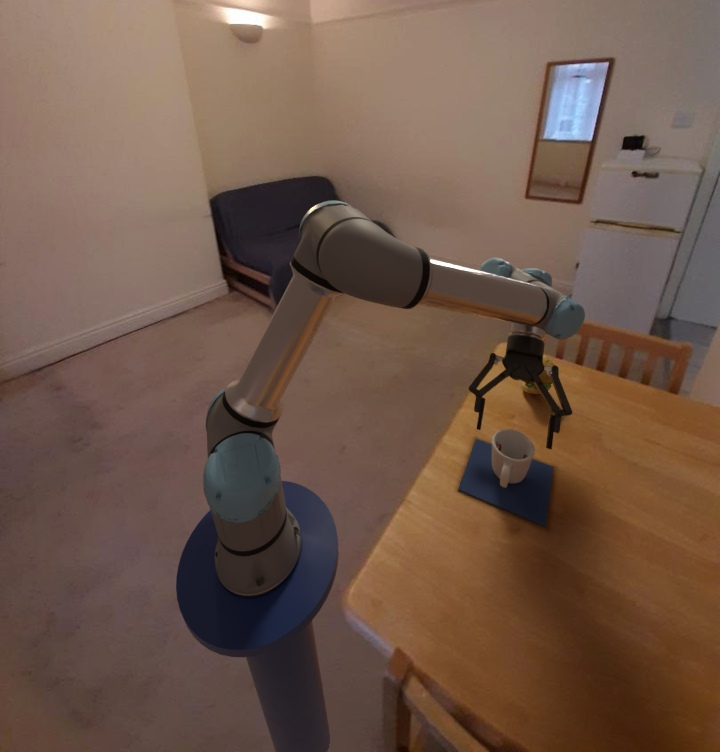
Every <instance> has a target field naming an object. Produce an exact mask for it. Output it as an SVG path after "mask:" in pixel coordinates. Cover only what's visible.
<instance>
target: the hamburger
mask: <svg viewBox="0 0 720 752" xmlns="http://www.w3.org/2000/svg"><path fill="white" fill-rule="evenodd" d="M552 360H553V359H551V358H550V357H548V356H546V355H544V354H543V364H544V366H555V365H556V364H555V363H554V361H552ZM539 378H540V379H541V381H542V382H543V384H544V386H545V387H546V389H547V390H548V391H550V389H551V388H552V385H553V383H552V380H551V377H549V376H548V375H547V372H546V371H543V372H542V373H541V374H540V375H539ZM521 387H522V389H523V390H524V392H526V393H529V394H532V395H541V393H540V392H539V390H538V389H537V387H536V386H535V385H534V383H533V381H532V382H528V383H527V382H523V381H522V383H521Z"/></svg>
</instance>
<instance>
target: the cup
mask: <svg viewBox="0 0 720 752" xmlns="http://www.w3.org/2000/svg"><path fill="white" fill-rule="evenodd" d="M491 444H492V468H493V471H494V473H495V474H496V476H497V477H498V478H499V479H500V485H501V486H502V487H505V488H506V487H507V485H508V483H513V484H514V483H519V482H521V481H522V480H523V479H524V478H525V476H526V474H527V471H528V469H529V466H530V464H531V461H532V459H534V456H535V451H536V449H535V445H534V442H533V441H532V440H531V438H529V437H528V436H527V435H526V434H525V433H523V432H521V431H519V430H516V429H512V428H503V429H499V430H497V431H496V432H495V433H494V434H493V436H492V438H491Z"/></svg>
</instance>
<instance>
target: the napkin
mask: <svg viewBox="0 0 720 752" xmlns="http://www.w3.org/2000/svg"><path fill="white" fill-rule="evenodd" d="M553 473H554V466H553V465H550V464H548V463H545V462H542V461H539V460H537V459H534V458H533V459H532V461H531V464H530V466H529V469H528V471H527V474H526V476H525V478H524V479H523V480H522V481H521V482H519V483H514V484H513V483H508V485H507V487H506V488H505V487H502V486H501V485H500V479H499V478H498V477H497V476H496V474H495V473H494V471H493V468H492V443H490V442H486V441H484V440H481V439H478V438H475V440H474V443H473V446H472V449H471V452H470V455H469V457H468V461H467V463H466V466H465V469H464V472H463V475H462V478H461V480H460V482H459V483H460V484H459V486H458V490H457V491H459V492H461V493H464V494H466V495H469V496H471V497H473V498H476V499H478V500H479V501H483V502H485V503H487V504H490V505H491V506H495V507H497V508H499V509H501V510H504V511H506V512H508V513H511V514H513V515H514V516H519V517H520V518H522V519H524V520H527V521H530V522H532V523H534V524H537V525H538V526H541V527H544V528H547V527H546V526H547V521H548V520H547V519H548V511H549V503H550V497H551V496H550V495H551V488H552V480H553Z"/></svg>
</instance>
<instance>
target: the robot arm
mask: <svg viewBox="0 0 720 752" xmlns="http://www.w3.org/2000/svg"><path fill="white" fill-rule="evenodd" d="M298 231H299V232H298V237H299V243H298V246H297V248H296V249H295V251H294V253H293V256H292V257H291V259H290V262H289V266H290V268H291V271H292V277H291V278H290V280H289V282H288V284H287V287H286V288H285V290H284V293H283V295H282V297H281V298H280V300H279V302H278V305H277V306H276V308H275V310H274V312H273V314H272V316H271V318H270V319H269V322H268V324H267V325H266V328H265V330H264V331H263V333H262V335H261V337H260V339H259V341H258V343H257V345H256V347H255V349H254V351H253V353H252V354H251V357H250V359H249V361H248V362H247V365H246V366H245V369H244V371H243V373H242V375H241V377H240V378H239V379H235V380H233V381H231V382H230V383H229V384H228V385H227V386H226V388H225V389H221V390H220V391H219V392H218V393H217V394H216V395H215V396H214V397H213V399H212V400H211V401H210V403H209V405H208V409H207V411H206V412H207V413H206V417H205V430H206V447H207V451H206V453H207V459H206V462H205V464H204V467H203V476H202V478H203V479H202V484H203V485H202V486H203V488H202V489H203V494H204V497H205V499H206V503H207V505H208V506H209V511H210V510H211V513H212V517H213V520H214V523H215V527H216V530H217V533H218V542H217V545H216V550H215V568H216V572H217V575H218V578H219V581H220V583H221V584H222V586H223V587H224V588H225V589H226V590H227V591H228V592H229V593H230V594H232V595H234V596H236V597H239V598H244V599H253V598H259V597H262V596H265V595H268V594H270V593H272V592H273V591H275V590H276V589H278V588H279V587H280V586H281V585H283V584H284V583H285V582H286V581H287V580H288V578H289V577H290V576H291V574H292V573H293V571H294V570H295V568H296V566H297V564H298V561H299V558H300V555H301V549H302V539H301V532H300V528H299V525H298V523H297V521H296V519H295V517H294V516H293V514H292V513H291V512H290V511H289V510H288V509H287V507H286V504H285V498H284V493H283V487H282V481H283V480H282V476H281V474H282V468H281V463H280V458H279V455H277V452H276V449H275V448H276V447H275V443H274V439H273V432H274V429H275V427H276V426H277V424H278V422H279V420H280V418H281V416H282V414H283V412H284V404H283V401H282V398H283V396H284V394H285V393H286V391H287V388H288V387H289V385H290V383H291V382H292V380H293V378H294V376H295V374H296V372H297V370H298V368H299V367H300V365H301V363H302V361H303V359H304V358H305V356H306V354H307V352H308V350H309V348H310V347H311V345H312V343H313V341H314V339H315V337H316V335H317V334H318V332H319V330H320V328H321V327H322V324H323V323H324V322H325V319H326V318H327V316H328V313H329V312H330V311H331V308H332V306H333V304H334V302H335V301H336V299H337V298H338V297H342V296H344V295H345V296H346V295H347V296H350V297H352V298H356V299H359V300H363V301H366V302H370V303H374V304H379V305H382V306H387V307H392V308H398V309H402V310H403V309H404V310H413V309H415V308H417V307H418V306H425V307H428V308H435V309H440V310H444V311H451V312H456V313H459V314H460V313H461V314H465V315H471V316H475V317H476V316H477V317H482V318H487V319H493V320H498V321H502V322H508V323H509V329H508V334H509V335H508V337H507V341H506V348H505V354H504V356H501V355H498V354H496V353H494V352H491V353H490V354H489V358H488V361H487V363H486V364H485V366H484V367H483V368H482V369H481V370H480V372H479V373H478V375H476V376H475V378H474V379H473V381H472V382H471V383H470V385H469V386H468V391H469V392H470V393H471V394H473V395H475V401H474V405H473V411H474V413H478V417H477V422H476V423H477V424H476V430H478V431H481V429H482V425H483V424H482V423H483V419H484V418H483V417H484V410H485V405H486V398H485V397H484V396H485V395H487V393H489V392H490V391H491V390H492V389H494V388H495V387H496V386H498V385H499V384H501V383H502V382H503V381H504V380H506V379H507V378H509V377H510V379H512V380H514V381H521V382H522V383H523V382H527V383H528V382H532V381H533V383H534V385H535V386H536V387H537V389H538V390H539V392H540V393H541V394H540V395H541V396H542V398H543V399H544V401H545V403H546V404H547V406H548V407H549V409H550V410H551V412H552V413H553V414H549V418H548V428H547V436H546V443H545V444H546V445H545V448H546V449H548V450H553V441H554V433H555V434H559V433H560V431H561V424H562V418H563V417H565V416H571V415H572V414H573V410H572V407H571V405H570V402H569V400H568V397H567V394H566V392H565V390H564V387H563V384H562V382H561V379H560V375H559V373H560V372H559V370H560V369H559V367H558V365H556V364H555V366H544V364H543V355H544V353H545V346H546V345H545V342H544V341H545V340H546V337H547V335H549V336H551V337H552V338H553V339H556V340H560V341H562V340H567V339H570V338H572V337H574V336H575V335H576V334H577V333H578V332H579V331H580V329H581V327H582V325H583V324H584V322H585V319H586V311H585V309H584V307H583V306H582V305H581V304H580V303H579V302H577V301H576V300H574V299H572V297H571V296H567V295H565V294H564V293H562V292H560V291H559V290H557V289H555V288H553V277H552V275H551V274H550V273H549V272H548V271H545V270H541V269H540V268H531V267H530V268H529V267H528V268H523V269H520V268H518V267H517V266H515V265H513V264H512V263H511V262H509V261H507V260H504V259H503V258H501V257H491V258H489V259H487V260H485V261H483V263H481V265H480V267H479V268H478V269H475V268H471V267H468V266H464V265H460V264H457V263H452V262H449V261H444V260H441V259H437V258H433V257H430V255H429V254H428V252H427V251H426V250H425V249H423V248H420V247H417V246H414V245H412V244H411V245H410V244H408V243H405V242H404V241H402V240H399V239H398V238H396V237H394V236H393V235H392V234H390V233H389V232H387V231H386V230H384V229H383V228H382V227H380V226H379V225H378V224H377V223H374V222H373V220H371V219H370V218H368V217H367V216H366V215H365V214H364V213H363V212H362V211H361V210H359V209H358V208H356V207H355V205H350V204H349V203H347V202H344V201H341V200H326V201H323V202H319V203H317V204H315V205H313V206H312V207H311V208H310V209H309V210H307V212H306V213H305V214H304V216H303V218H302V219H301V221H300V224H299V230H298ZM499 363H502V365H503V367H504V370H503V371H501V372H500V373H499V374H498V375H497V376H495V377H494V378H493V379H492V380H490V381H489V382H488V383H486V384H485V385H484V386H482V387H481V388H480V389H477V388H479V386H480V385H481V383H482V382H483V381H484V379H485V378H486V377H487V376H488V374H489V373H490V372H491V370H493V367H494V366H497V365H499ZM543 371H546V372H547V375H548V376H549V377H551V380H552V386H553V388H554V391H555V394H556V396H557V398H558V401H559V404H560V407H561V408H560V407H559V405H558V404H557V403H556V401H555V399H554V398H553V397H552V394H551V393H550V392H549V390H547V389H546V387H545V386H544V384H543V382H542V381H541V379H540V378H539V375H540V374H541V373H542V372H543Z"/></svg>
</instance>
